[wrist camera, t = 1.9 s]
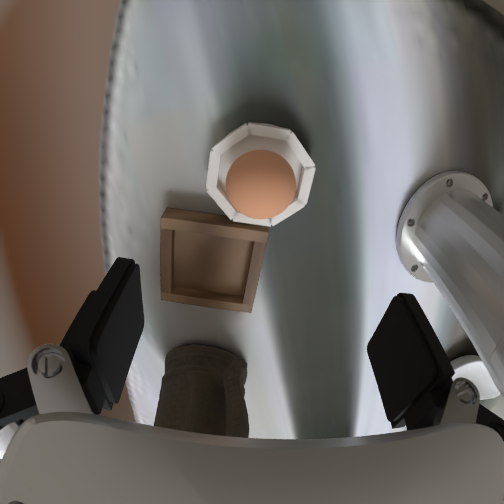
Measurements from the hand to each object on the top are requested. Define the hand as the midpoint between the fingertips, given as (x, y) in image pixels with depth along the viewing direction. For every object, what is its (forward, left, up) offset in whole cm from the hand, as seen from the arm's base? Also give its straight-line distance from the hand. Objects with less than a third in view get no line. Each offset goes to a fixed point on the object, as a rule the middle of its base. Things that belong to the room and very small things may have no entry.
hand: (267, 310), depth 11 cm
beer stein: (+2, +24, -17) cm, 29 cm away
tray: (+3, +9, -16) cm, 19 cm away
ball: (0, 0, -15) cm, 15 cm away
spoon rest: (-44, +25, -17) cm, 54 cm away
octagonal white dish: (0, 0, -16) cm, 16 cm away
